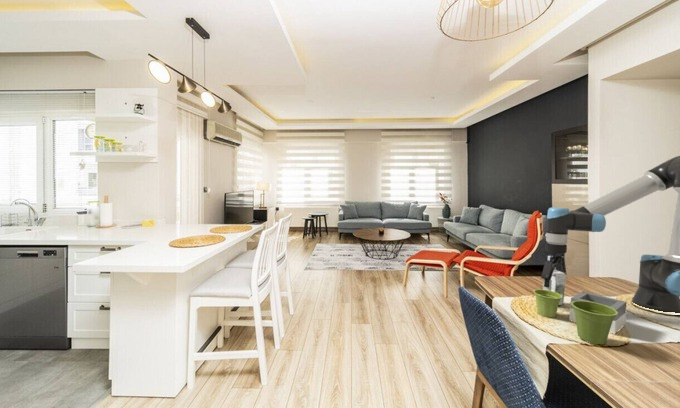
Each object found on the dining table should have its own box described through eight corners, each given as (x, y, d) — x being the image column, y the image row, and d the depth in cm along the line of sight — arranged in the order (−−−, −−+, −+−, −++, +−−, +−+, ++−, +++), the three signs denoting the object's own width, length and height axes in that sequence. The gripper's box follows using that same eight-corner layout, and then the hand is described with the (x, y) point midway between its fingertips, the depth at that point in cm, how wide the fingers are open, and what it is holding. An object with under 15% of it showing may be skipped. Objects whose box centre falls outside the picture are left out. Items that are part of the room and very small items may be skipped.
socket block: (581, 312, 121) (582, 291, 120) (624, 325, 110) (626, 301, 109) (569, 320, 113) (571, 297, 113) (614, 334, 103) (616, 309, 102)
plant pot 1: (562, 314, 119) (563, 293, 118) (559, 322, 112) (560, 300, 111) (535, 307, 125) (536, 287, 124) (530, 314, 118) (531, 293, 118)
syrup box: (550, 300, 133) (552, 269, 132) (563, 305, 128) (566, 272, 127) (541, 302, 131) (543, 270, 130) (554, 307, 126) (556, 273, 125)
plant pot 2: (560, 330, 105) (562, 299, 104) (594, 331, 105) (597, 300, 104) (587, 349, 93) (590, 314, 93) (626, 350, 93) (628, 315, 92)
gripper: (557, 239, 138) (554, 284, 139) (534, 244, 124) (531, 294, 125) (576, 241, 132) (573, 288, 133) (554, 247, 118) (551, 299, 119)
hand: (553, 291), depth 129 cm, fingers open, 12 cm apart
